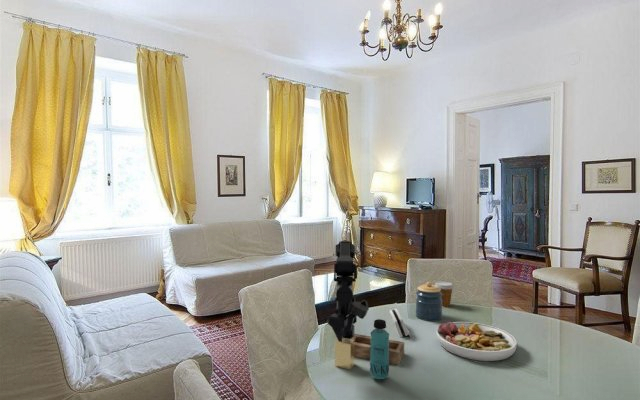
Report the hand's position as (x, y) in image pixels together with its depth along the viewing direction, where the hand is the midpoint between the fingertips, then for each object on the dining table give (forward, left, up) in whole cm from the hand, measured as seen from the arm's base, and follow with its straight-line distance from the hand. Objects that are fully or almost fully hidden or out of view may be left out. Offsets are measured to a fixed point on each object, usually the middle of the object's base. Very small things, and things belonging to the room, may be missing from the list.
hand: (344, 336), depth 135 cm
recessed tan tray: (+8, +13, -10) cm, 18 cm away
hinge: (+11, +41, -11) cm, 44 cm away
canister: (+21, +64, -11) cm, 68 cm away
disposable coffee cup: (+26, +86, -11) cm, 90 cm away
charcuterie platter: (+43, +36, -11) cm, 57 cm away
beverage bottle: (+14, -5, -11) cm, 18 cm away
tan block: (0, 0, -11) cm, 11 cm away
